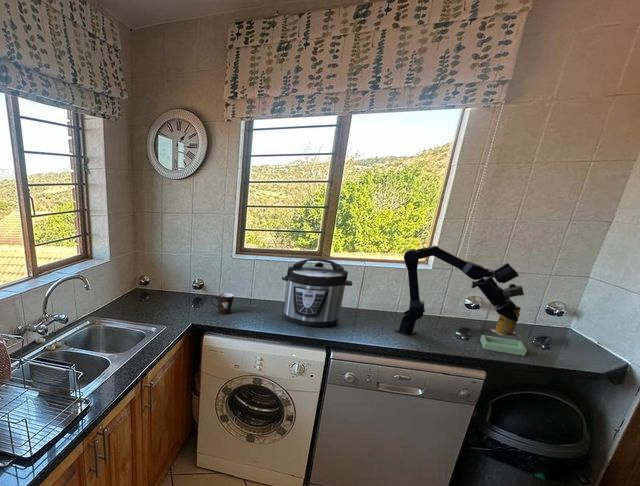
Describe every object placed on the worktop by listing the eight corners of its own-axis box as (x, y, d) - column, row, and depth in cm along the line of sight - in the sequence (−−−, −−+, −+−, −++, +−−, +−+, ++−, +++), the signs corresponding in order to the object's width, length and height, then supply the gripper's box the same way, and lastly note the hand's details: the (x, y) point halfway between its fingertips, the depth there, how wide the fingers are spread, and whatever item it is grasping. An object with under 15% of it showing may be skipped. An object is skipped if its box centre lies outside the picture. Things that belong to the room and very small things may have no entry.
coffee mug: (234, 311, 221) (236, 294, 218) (228, 315, 215) (230, 297, 211) (215, 308, 227) (216, 291, 224) (208, 312, 220) (210, 294, 217)
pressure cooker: (267, 316, 214) (275, 256, 203) (304, 309, 227) (313, 252, 216) (314, 333, 190) (325, 266, 178) (352, 324, 203) (365, 261, 192)
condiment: (489, 329, 177) (499, 303, 173) (512, 331, 175) (522, 305, 171) (498, 335, 170) (508, 307, 166) (522, 337, 168) (533, 309, 164)
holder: (483, 349, 173) (485, 343, 172) (480, 340, 183) (481, 335, 182) (524, 355, 167) (527, 350, 166) (518, 346, 177) (520, 340, 176)
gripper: (517, 282, 158) (544, 314, 157) (509, 274, 173) (533, 303, 172) (486, 299, 165) (511, 329, 164) (480, 289, 180) (503, 317, 179)
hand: (515, 319), depth 169 cm, fingers closed on condiment, 6 cm apart
